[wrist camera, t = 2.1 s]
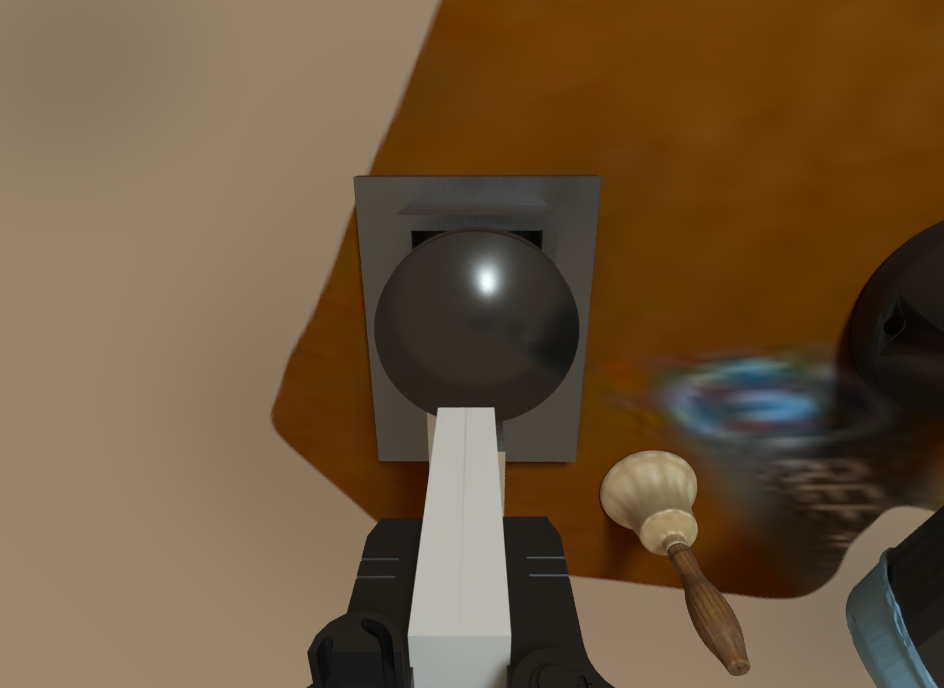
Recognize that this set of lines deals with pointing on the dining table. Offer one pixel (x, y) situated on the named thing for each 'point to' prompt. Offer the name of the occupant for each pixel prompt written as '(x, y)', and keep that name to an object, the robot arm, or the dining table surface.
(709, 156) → the dining table surface
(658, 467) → the hand bell
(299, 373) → the dining table surface
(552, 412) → the press stand
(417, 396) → the black ball joystick
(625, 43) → the dining table surface
